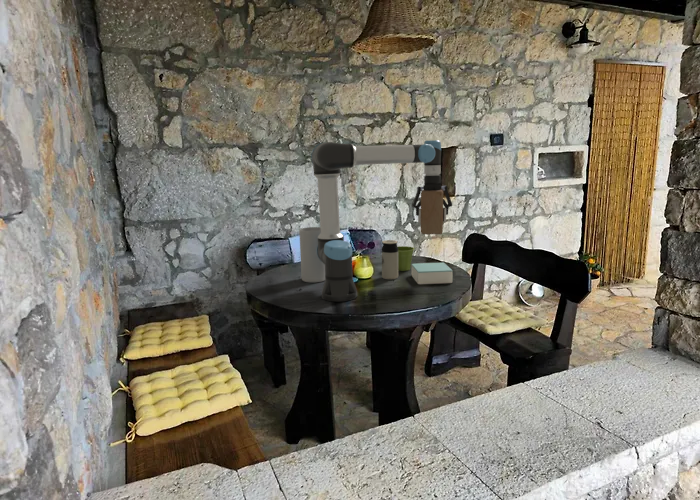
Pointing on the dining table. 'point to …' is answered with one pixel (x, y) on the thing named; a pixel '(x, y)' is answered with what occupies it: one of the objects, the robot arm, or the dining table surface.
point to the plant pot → (404, 257)
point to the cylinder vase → (310, 255)
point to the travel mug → (389, 259)
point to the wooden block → (432, 212)
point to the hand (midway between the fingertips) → (431, 222)
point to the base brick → (432, 273)
